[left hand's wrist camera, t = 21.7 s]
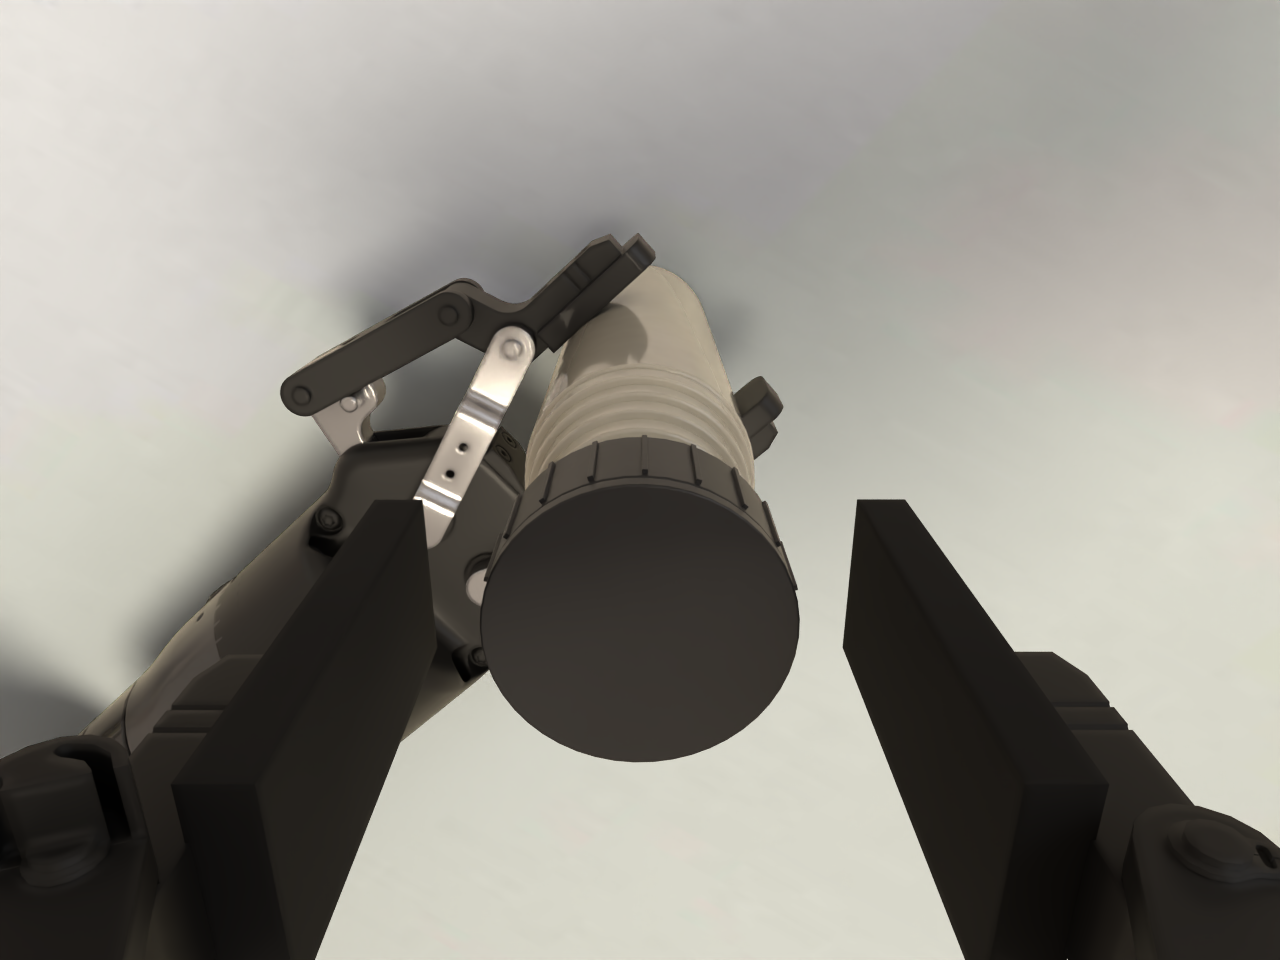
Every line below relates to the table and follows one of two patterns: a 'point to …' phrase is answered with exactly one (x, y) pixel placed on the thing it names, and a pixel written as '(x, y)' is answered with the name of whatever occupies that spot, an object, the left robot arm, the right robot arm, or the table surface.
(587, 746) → the cap
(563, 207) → the table surface
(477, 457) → the right robot arm
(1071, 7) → the table surface
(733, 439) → the bottle
